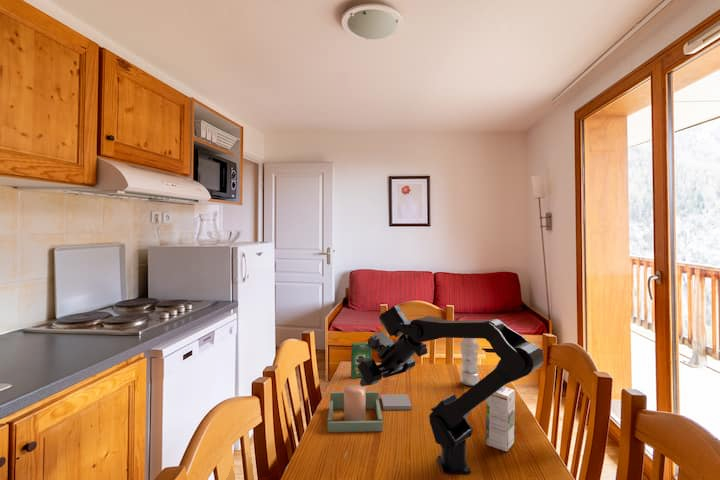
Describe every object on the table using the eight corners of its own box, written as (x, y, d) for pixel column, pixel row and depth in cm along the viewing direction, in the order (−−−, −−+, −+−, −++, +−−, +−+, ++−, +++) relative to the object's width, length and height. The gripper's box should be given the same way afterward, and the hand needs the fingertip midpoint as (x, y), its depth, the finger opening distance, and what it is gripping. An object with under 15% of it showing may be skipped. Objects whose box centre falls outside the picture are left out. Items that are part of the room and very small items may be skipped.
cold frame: (382, 431, 107) (382, 413, 107) (327, 432, 106) (327, 414, 106) (378, 406, 122) (378, 391, 122) (330, 407, 122) (330, 392, 122)
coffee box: (369, 373, 153) (369, 341, 153) (372, 375, 150) (372, 342, 150) (350, 376, 150) (350, 343, 150) (353, 378, 147) (353, 345, 147)
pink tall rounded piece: (366, 423, 111) (366, 393, 111) (343, 424, 111) (343, 393, 111) (365, 413, 118) (365, 384, 118) (344, 413, 117) (344, 384, 117)
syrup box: (493, 436, 104) (493, 383, 104) (515, 443, 100) (515, 388, 100) (485, 445, 100) (485, 389, 100) (508, 453, 96) (508, 395, 96)
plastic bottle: (480, 388, 137) (480, 333, 137) (460, 387, 138) (460, 332, 138) (478, 382, 143) (478, 329, 143) (459, 380, 145) (459, 328, 145)
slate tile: (411, 409, 120) (411, 405, 120) (383, 409, 120) (383, 406, 120) (407, 397, 129) (407, 394, 129) (381, 398, 129) (381, 394, 129)
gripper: (407, 320, 112) (379, 350, 120) (362, 331, 99) (334, 363, 106) (429, 352, 106) (398, 381, 114) (385, 368, 93) (354, 400, 101)
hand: (372, 380), depth 109 cm, fingers open, 9 cm apart
